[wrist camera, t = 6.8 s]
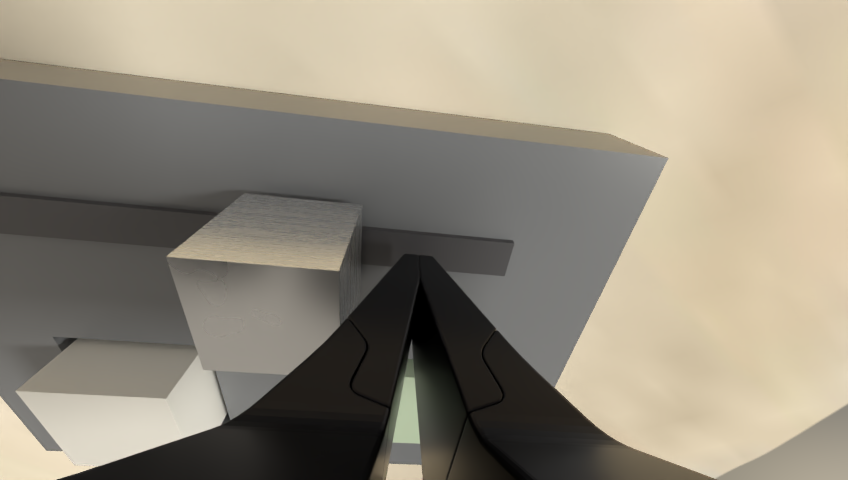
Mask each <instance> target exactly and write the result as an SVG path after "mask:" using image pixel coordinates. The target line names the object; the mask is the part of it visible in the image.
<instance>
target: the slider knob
mask: <svg viewBox="0 0 848 480" xmlns="http://www.w3.org/2000/svg"><path fill="white" fill-rule="evenodd" d="M361 237H362V205H359V204H349V203H339V202H329V201H318V200H308V199H298V198H288V197H278V196H268V195H258V194H248V193H244V194H243V195H242V196H240V197H239V198H238V199H237V200H235V201H234V202H233V203H232V204H230V205H229V206H228V207H227V208H225V209H224V210H223V211H222V212H221V213H219V214H218V215H217V216H216V217H214V218H213V219H212V220H211V221H209V222H208V223H207V224H206V225H204V226H203V227H202V228H201V229H199V230H198V231H197V232H196V233H195V234H193V235H192V236H191V237H190V238H188V239H187V240H186V241H185V242H183V243H182V244H181V245H180V246H178V247H177V248H176V249H175V250H174V251H172V252H171V253H170V254H169V255H167V256H166V259H167V262H168V265H169V268H170V271H171V274H172V277H173V280H174V283H175V286H176V289H177V292H178V295H179V298H180V301H181V304H182V307H183V310H184V313H185V316H186V319H187V322H188V325H189V328H190V331H191V335H192V338H193V341H194V344H195V347H196V350H197V353H198V356H199V359H200V362H201V365H202V368H203V370H211V371H228V372H246V373H263V374H281V375H288V374H289V373H290V372H292V371H293V370H294V369H295V368H296V367H297V366H298V365H300V364H301V363H302V362H303V361H304V360H305V359H306V358H308V357H309V356H310V355H311V354H312V353H313V352H314V351H315V350H316V349H317V348H319V347H320V346H321V345H322V344H323V343H324V342H325V341H326V340H327V339H328V338H329V337H330V336H331V335H332V334H333V333H334V332H335V330H336V329H337V328H338V327H339V326H340V325H341V324H342V323H343V322H344V320H345V319H347V318H348V316H349V315H350V314H351V313H352V312H353V311H354V309H355V308H356V307H357V305H358V300H359V296H360V276H361Z"/></svg>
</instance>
